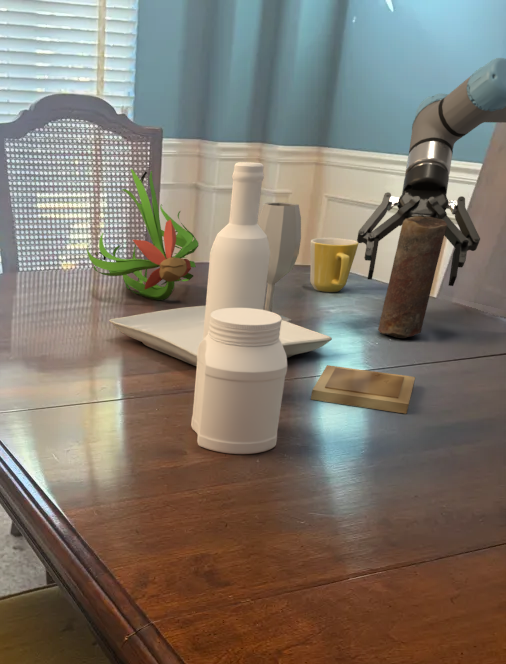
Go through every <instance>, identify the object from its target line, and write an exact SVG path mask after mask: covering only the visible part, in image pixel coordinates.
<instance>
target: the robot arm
mask: <svg viewBox="0 0 506 664" xmlns="http://www.w3.org/2000/svg"><path fill="white" fill-rule="evenodd" d="M484 123H500V124H501V123H506V58H505V57H495V58H494V59H491V60H490V61H489V62H487V63H486V64H485V65H483V66H481V67H479V68H478V69H476V70H475V71H474V72H473V73H472V74H471V75H470V76H469V77H468V78H466V79H465V80H464V81H463V82H461V83H460V84H459V85H457V87H455V88H454V89H453V90H452V91H451V92H450V93H448V94H447V93H436V94H435V95H432V96H428V97H426V98H425V99H423V100H422V101H421V102H420V104H419V105H418V106H417V109H416V111H415V115H414V119H413V122H412V124H411V125H412V126H411V136H410V143H409V149H408V155H407V162H406V168H405V172H404V173H405V175H404V180H403V185H402V191H401V195H400V196H399V197H397V196H392V193H391V192H385V193H384V194H383V197H382V201H381V203H379V205H378V207H376V209H375V210H374V211H373V213H372V214H371V215H370V216H369V218H368V219H367V220H366V221H365V222H364V224H362V226H361V227H360V229H359V230H358V232H357V239H356V241H357V242H358V244H362V243H363V244H364V245H365V250H364V251H365V252H364V257H363V258H364V261H368V262H369V268H368V273H367V280H369V281H370V280H371V281H372V280H373V275H374V272H375V267H376V260H377V253H378V248H379V243H380V241H381V240H383V239H384V238H385V237H387V236H388V235H390V233H392V232H393V231H395V230H396V229H397V228H398V227H402V224H403V221H404V220H405V219H407V218H410V217H414V216H422V217H433V218H437V219H442V220H444V221H445V222H446V223H447V227H446V231H445V235H444V238H445V239H447V240H448V242H449V243H450V244H451V245H452V246H453V248H454V250H453V253H452V258H451V266H450V271H449V279H448V286H449V287H454V285H455V283H456V280H457V278H458V271H459V268H463V267H464V266H465V263H466V262H467V261H466V260H467V254H468V251H472V252H474V251H476V250H477V249H478V246H479V244H480V242H481V237H480V235H479V233H478V231H477V229H476V227H475V224H474V222H473V220H472V218H471V216H470V214H469V212H468V210H467V208H466V197H465V196H461V195H460V196H459V197H458V198H457V199H452V200H451V199H448V197H447V194H448V186H449V181H450V173H451V166H452V158H453V153H454V146H455V143H457V142H458V141H459V140H460V139H461V138H463V137H465V136H466V135H467V134H470V132H472V131H473V130H474V129H476V128H477V127H478V126H480V125H482V124H484ZM394 207H397V209H398V210H397V211H396V212H395V213H394V214H393V215H391V216H390V217H389V218H388V219H386V220H385V221H384V222H383V223H381V224H380V225H379V223H380V222H381V221H382V220H383V219H384V217H385V216H386V214H387V213H388V212H389V211H391V210H392V209H393V208H394ZM446 210H449V211H450V213H451V215H454V218H455V221H456V224H457V225H458V226H457V225H456V224H455V223H454V221H453V220H452V219H451V218H450V217H449V216H448V214H447V211H446Z"/></svg>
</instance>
